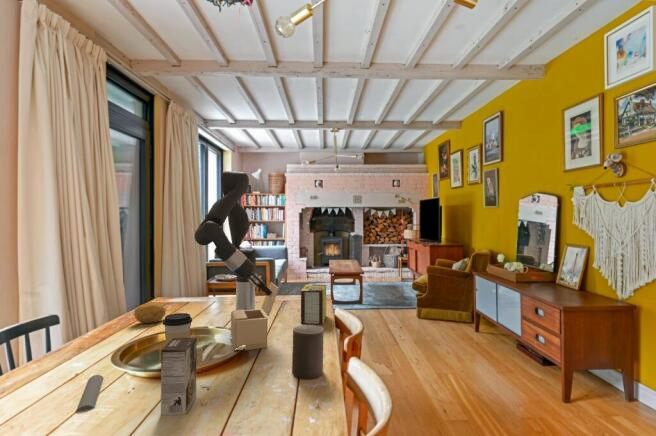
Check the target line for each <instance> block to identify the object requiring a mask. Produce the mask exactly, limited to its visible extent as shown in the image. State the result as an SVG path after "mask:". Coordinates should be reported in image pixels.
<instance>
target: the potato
mask: <svg viewBox="0 0 656 436" xmlns="http://www.w3.org/2000/svg"><path fill="white" fill-rule="evenodd" d="M166 312H167V310H166V308H165V307H164V305H163V304H162V303H158V302H156V301H148V302H146V303H143V304H140V305H138V306H137V307H136V309H135V310H134V312H133V314H134V318H135V320H136V321H137V322H139V323H142V324H152V323H153V324H154V323H156V322H157V323H158V322H160V321H161V320H162V321H163V319H164V318H165V317H166Z"/></svg>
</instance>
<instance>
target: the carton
mask: <svg viewBox="0 0 656 436" xmlns="http://www.w3.org/2000/svg"><path fill="white" fill-rule="evenodd" d="M231 337H232V341H231V345H232V344H233V345H232V348H233V351H234V350H235V349H236V348H238V347H239V346H242V345H246V348H245V350H244V351H248V350H255V349H265V348H268V316H267V314H266V313H265V312H264V310H263V309H262V308H257V309H256V308H255V309H254V310H236V309H235V310H232V311H230V338H231Z"/></svg>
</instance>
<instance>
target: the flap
mask: <svg viewBox="0 0 656 436" xmlns="http://www.w3.org/2000/svg"><path fill="white" fill-rule="evenodd" d="M268 288H269V289H270V290H271V291H272V293H271V294H270V295H269V296H267V295H266V294H265V297H264V301H263V303H262V306H261V310H262V311H263V312H264V314H265V315H266V317H270V315H271V312H272V309H273V306H274V303H275V301H276V298H277V295H278V293H279V290H280V289H279V287H278V285H276V284H274V283H273V282H272V281H270V283H269V286H268Z"/></svg>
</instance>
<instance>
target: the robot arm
mask: <svg viewBox="0 0 656 436" xmlns="http://www.w3.org/2000/svg"><path fill="white" fill-rule="evenodd" d="M249 184H250V177H249V176H248V174H247V173H246V172H242V171H233V170H224V171H223V172H222V173H221V175H220V185H221V186H220V187H221V190H222V195H223V196H222V197H220V198H219V199H218V200H216V201H215V202H214V203H213V205H212V206H211V208H210V209H209V211H208V213H207V215H206V217H205V218H204V219H203V221H202V222H201V223H200V224H199V225H198V227H197V228H196V230H195V232H194V239H195V242H196V243H197V244H198V245H200V246H208V245H210V244H211V243H213V244H214V245H215V248H214V250H213V253H214V254H215V255H216V256H217V257H218V258H219V260H221V261H222V262H223V263H224V264H225V266H226V267H227V268H228V269H229V270H230V272H232V273H233V274H234V275H235V277H236V278H235V279H236V280H235V281H236V285H235V288H236V289H235V291H236V292H235V310H254V309H256V288H257V287H258V290H260V291H262V292H263V293H265V296H266V295H267V296H269V295H270V294H271V293H272V291H271V290H270V289H269V286H266V283H265V282H263V281H264V280H263V279H262V278H261V277H259V275H258V273H257V272H256V264H257V253H256V250H255V248H241V244H242V242H243V240H244V238H245V237H246V236H247V234H248V232H249V230H250V222H249V214H248V213H247V211H246V209H245V208H244V207H243V205H241V203H240V202H239V200H241V199H242V197H243V196H244V194H245V193H246V192H247V190H248V187H249ZM226 220H228V221H227V222H228V228H229V232H230V238H231V239H230V240H231V241H230V240H229V238H228V236H227V234H226V233H225V231H224V230H223V228H222V226H223V225H224V223H225V222H226Z"/></svg>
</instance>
